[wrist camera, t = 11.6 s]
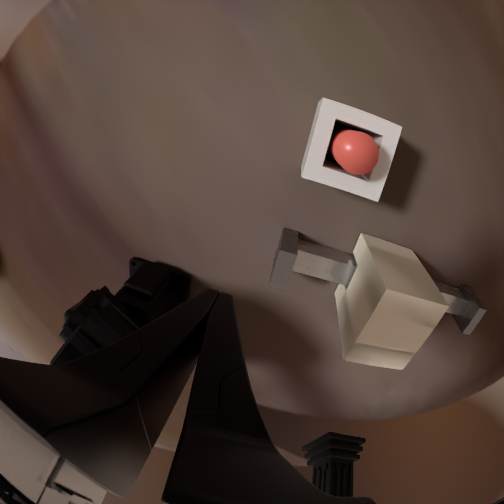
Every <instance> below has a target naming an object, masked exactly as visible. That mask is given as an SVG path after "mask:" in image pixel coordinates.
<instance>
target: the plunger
mask: <svg viewBox="0 0 504 504" xmlns="http://www.w3.org/2000/svg"><path fill="white" fill-rule="evenodd" d="M328 151H329V153H330V155H331V156H332V157H333V158H334V159H335V160H336V161H337V162H338V163H339V164H340V165H341V166H342V168H343V169H345V170H346V171H347V172H349V173H351V174H355V175H362V174H366V173H368V172H370V171H371V170H372V169H373V168H374V167H375V166H376V164H377V162H378V159H379V149H378V146H377V144H376V142H375V141H374V139H373V138H372V137H371V136H369V135H368V134H366V133H364V132H359V131H353V130H347V129H339V130H336V131H334V132H333V133H332V134H331V138H330V141H329V145H328Z"/></svg>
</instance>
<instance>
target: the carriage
mask: <svg viewBox="0 0 504 504" xmlns="http://www.w3.org/2000/svg"><path fill="white" fill-rule="evenodd" d="M353 254H354V256H355V259H356V262H357V265H358V266H357V268H356V271H355V273H354V275H353V277H352V279H351V281H350V283H349V286H346V285H342V284H339V285H338V287H337V289H336V291H335V298H336V305H337V312H338V320H339V328H340V337H341V346H342V356H343V360H344V361H349V362H355V363H360V364H366V365H372V366H379V367H385V368H392V369H400V370H403V368H404V367H405V366H406V365H407V364H408V362H409V361H410V360H411V359H412V357H413V356H414V355H415V354H416V352H417V351H418V350H419V349H420V347H421V346H422V345H423V343H424V342H425V341H426V339H427V338H428V337H429V335H430V334H431V332H432V331H433V330H434V328H435V327H436V325H437V324H438V322H439V321H440V320H441V318H442V317H443V315H444V314H445V312H446V310H447V309H448V307H449V305H448V304H447V302H446V300H445V299H444V297H443V296H442V294H441V292H440V291H439V289H438V288H437V286H436V285H435V283H434V281H433V280H432V278H431V277H430V275H429V274H428V272H427V271H426V269H425V268H424V266H423V265H422V264H421V262H420V261H419V259H418V258H417V256H416V255H415V254H414V252H413V251H412V250H411V249H408V248H405V247H402V246H400V245H397V244H394V243H391V242H388V241H385V240H382V239H379V238H376V237H373V236H370V235H367V234H364V233H361V234H360V236H359V239H358V241H357V244H356V246H355V249H354V251H353Z"/></svg>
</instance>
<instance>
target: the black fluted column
mask: <svg viewBox="0 0 504 504" xmlns="http://www.w3.org/2000/svg"><path fill="white" fill-rule="evenodd" d="M365 442H366V440H365V438H360V437H354V436H348V435H343V434H338V433H333V432H328V433H326V434H325V435H323V436H321V437H319V438H318V439H316V440H314V441H312V442H310V443H308V444H307V445H305V446H303V447H302V450H303V451H308V453H306V454H305V458H309V459H311V460H309V461H307V465H310V466H313V478H312V484H313V485H314V486H315V487H317V488H318V489H320V490H321V491H322V492H325V493H327V494H329V495H332V496H336V497H353V462H354V461H356V460H358V459H360V455H356V454H357V453H359V452H361V451H362V450H363V447H362V446H360V445H361V444H363V443H365Z"/></svg>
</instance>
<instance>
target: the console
mask: <svg viewBox="0 0 504 504" xmlns="http://www.w3.org/2000/svg"><path fill="white" fill-rule="evenodd" d="M335 122H338V123H341V124H344V125H347V126H350V127H353V128H356V129H358V130H361V131H364V132H367V134H368V135H369V136H371V137H372V138H373V139H374V141H375V142H376V144H377V146H378V149H379V159H378V162H377V164H376V166H375V167H374V168H373V169H372V170H371V171H370V172H368V173H366V174H362V175H355V174H351V173H349V172H347V171H346V170H345V169H343V168H342V166H341V165H339V164H336V163H333V162H330V161H326V160H324V159H325V155H326V152H327V148H328V145H329V141H330V138H331V134H332V131H333V127H334V123H335ZM401 130H402V127H401V126H399V125H396V124H394V123H392V122H389V121H387V120H385V119H382V118H380V117H377V116H375V115H372V114H370V113H367V112H364V111H362V110H359V109H356V108H353V107H351V106H348V105H345V104H342V103H339V102H336V101H332V100H329V99H326V98H322V99H321V100H320V101H319V102H318V106H317V109H316V113H315V117H314V121H313V125H312V128H311V132H310V136H309V139H308V143H307V147H306V151H305V154H304V158H303V161H302V165H301V177H302V178H305V179H309V180H312V181H316V182H319V183H322V184H325V185H329V186H332V187H335V188H338V189H341V190H344V191H347V192H350V193H353V194H356V195H359V196H362V197H365V198H368V199H370V200H373V201H376V202H378V201H379V198H380V195H381V193H382V190H383V187H384V184H385V181H386V178H387V175H388V172H389V169H390V166H391V163H392V160H393V157H394V154H395V150H396V147H397V144H398V140H399V137H400V133H401Z"/></svg>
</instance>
